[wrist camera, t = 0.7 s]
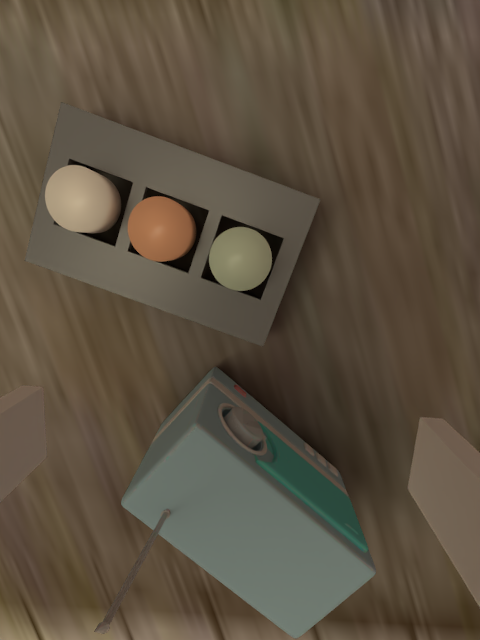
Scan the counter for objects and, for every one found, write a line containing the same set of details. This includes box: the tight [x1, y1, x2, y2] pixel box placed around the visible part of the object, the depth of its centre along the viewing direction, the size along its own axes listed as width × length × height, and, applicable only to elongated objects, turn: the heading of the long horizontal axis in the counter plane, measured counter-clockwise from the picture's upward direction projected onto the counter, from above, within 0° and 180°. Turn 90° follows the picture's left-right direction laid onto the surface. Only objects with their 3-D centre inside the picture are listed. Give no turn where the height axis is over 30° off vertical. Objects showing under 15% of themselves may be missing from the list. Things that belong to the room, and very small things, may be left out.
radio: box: [94, 367, 376, 639], centre depth 25 cm, size 16×9×20 cm, turn 49°
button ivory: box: [45, 165, 121, 233], centre depth 26 cm, size 4×4×2 cm
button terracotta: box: [128, 196, 196, 262], centre depth 26 cm, size 4×4×2 cm
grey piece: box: [25, 102, 321, 347], centre depth 29 cm, size 20×12×4 cm, turn 70°
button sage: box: [209, 227, 272, 291], centre depth 26 cm, size 4×4×2 cm
